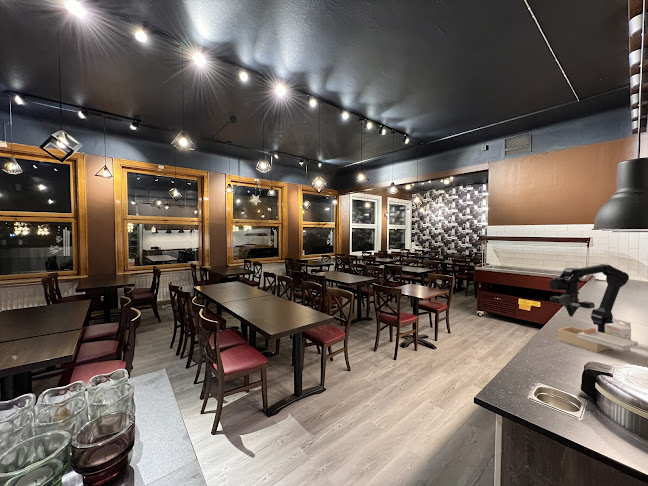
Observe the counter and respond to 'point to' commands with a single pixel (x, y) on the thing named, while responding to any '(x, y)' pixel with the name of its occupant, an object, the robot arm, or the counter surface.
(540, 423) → the counter surface
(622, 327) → the ink cartridge box
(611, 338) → the lid
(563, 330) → the wooden box
